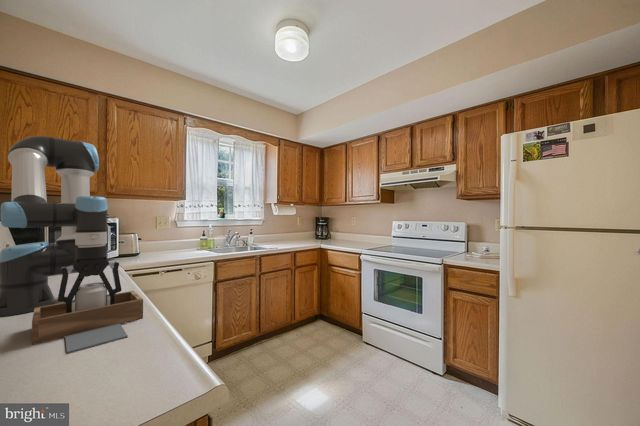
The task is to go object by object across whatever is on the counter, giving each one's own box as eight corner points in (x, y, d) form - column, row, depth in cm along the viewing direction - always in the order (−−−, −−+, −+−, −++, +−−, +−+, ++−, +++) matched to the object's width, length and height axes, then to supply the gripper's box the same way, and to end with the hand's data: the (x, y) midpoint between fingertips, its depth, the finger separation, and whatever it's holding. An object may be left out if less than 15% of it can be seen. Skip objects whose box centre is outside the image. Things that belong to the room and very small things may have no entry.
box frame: (34, 327, 78) (34, 307, 78) (133, 307, 95) (133, 290, 95) (31, 344, 68) (31, 321, 68) (143, 318, 85) (143, 299, 85)
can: (87, 328, 77) (88, 288, 77) (68, 326, 79) (68, 286, 79) (112, 319, 84) (113, 281, 84) (94, 317, 86) (94, 280, 86)
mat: (65, 337, 72) (65, 336, 72) (119, 324, 80) (119, 323, 80) (66, 353, 63) (66, 352, 63) (127, 337, 72) (127, 335, 72)
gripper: (44, 250, 72) (43, 333, 72) (133, 244, 86) (133, 313, 86) (44, 247, 77) (44, 325, 77) (128, 242, 92) (128, 307, 91)
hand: (91, 319), depth 81 cm, fingers closed on can, 7 cm apart
